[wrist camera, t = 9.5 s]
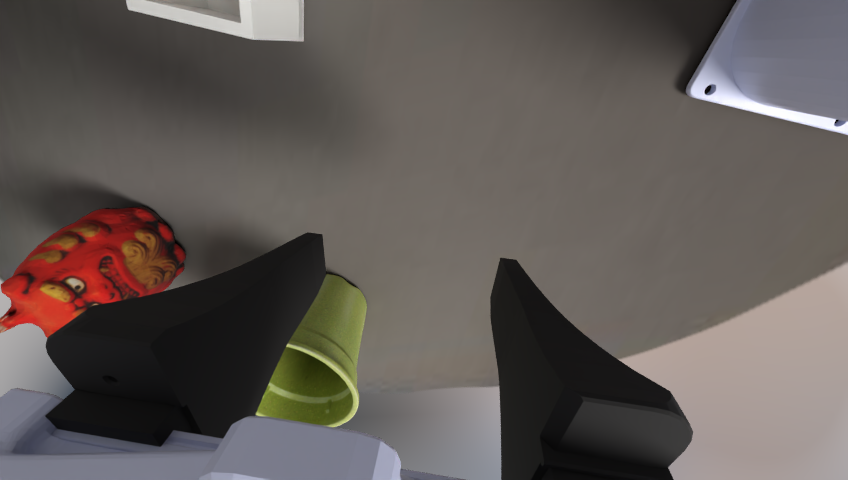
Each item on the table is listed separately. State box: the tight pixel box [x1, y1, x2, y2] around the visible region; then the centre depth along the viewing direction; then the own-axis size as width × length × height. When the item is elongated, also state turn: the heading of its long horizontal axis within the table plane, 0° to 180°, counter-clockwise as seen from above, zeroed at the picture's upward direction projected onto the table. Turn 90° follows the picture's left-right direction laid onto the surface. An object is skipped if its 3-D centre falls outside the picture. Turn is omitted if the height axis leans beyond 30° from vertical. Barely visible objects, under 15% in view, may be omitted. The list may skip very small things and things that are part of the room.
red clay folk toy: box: [0, 207, 186, 338], centre depth 21 cm, size 8×7×15 cm
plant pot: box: [256, 274, 367, 427], centre depth 25 cm, size 9×9×9 cm
